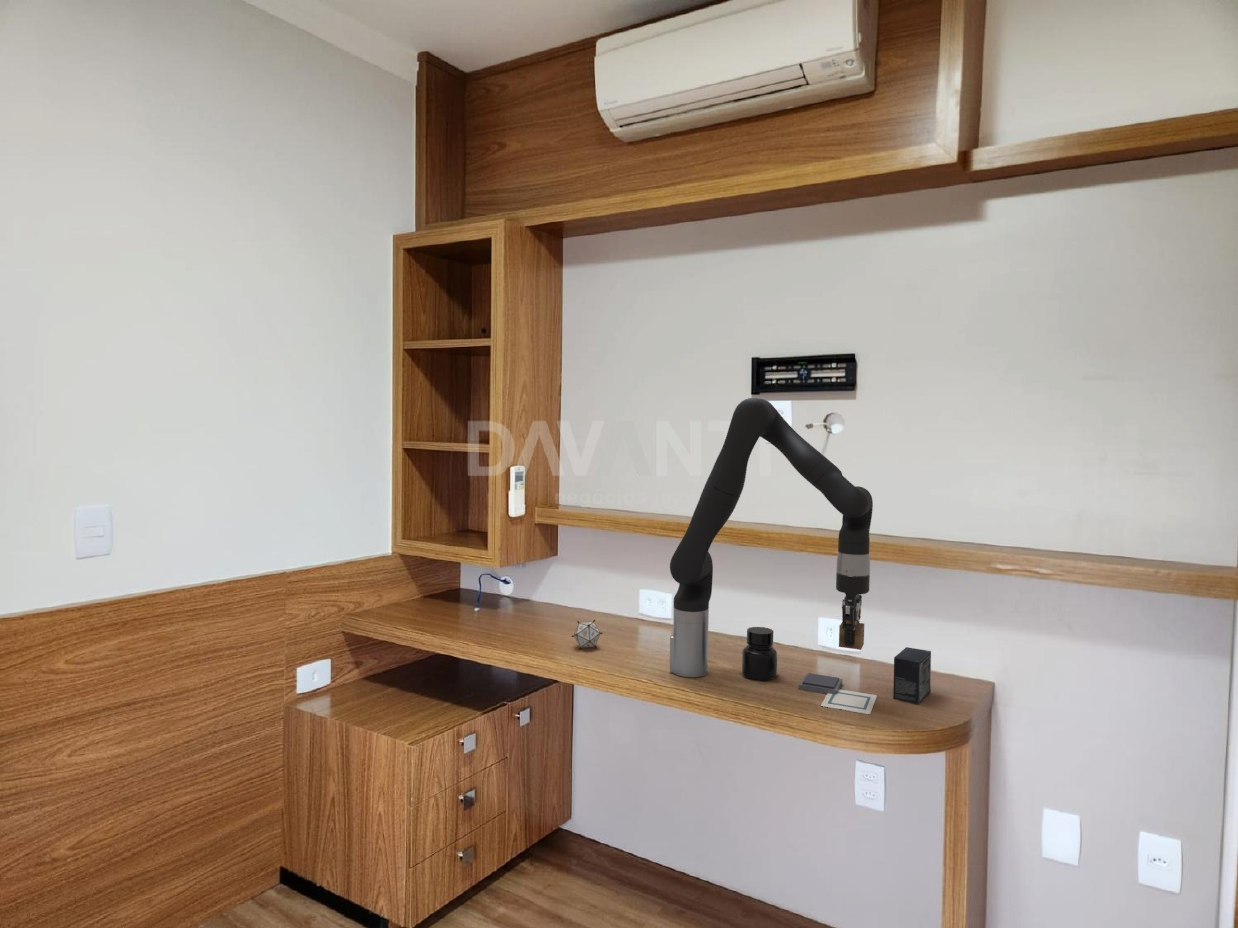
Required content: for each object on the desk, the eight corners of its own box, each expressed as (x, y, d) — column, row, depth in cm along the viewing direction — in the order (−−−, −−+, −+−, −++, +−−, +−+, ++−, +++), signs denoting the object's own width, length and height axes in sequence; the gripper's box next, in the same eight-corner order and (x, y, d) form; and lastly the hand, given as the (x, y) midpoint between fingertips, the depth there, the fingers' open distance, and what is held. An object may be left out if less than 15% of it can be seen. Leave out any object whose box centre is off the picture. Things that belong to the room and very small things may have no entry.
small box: (904, 686, 189) (905, 645, 189) (931, 692, 185) (932, 650, 185) (891, 698, 181) (892, 655, 180) (919, 705, 177) (921, 661, 176)
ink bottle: (784, 675, 196) (785, 630, 196) (766, 684, 190) (767, 637, 189) (752, 667, 203) (753, 623, 202) (734, 675, 196) (735, 630, 195)
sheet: (820, 706, 175) (820, 705, 175) (830, 688, 187) (830, 687, 187) (870, 714, 170) (870, 713, 170) (876, 696, 182) (876, 694, 182)
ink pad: (798, 689, 186) (799, 682, 186) (806, 678, 194) (806, 671, 194) (836, 695, 182) (836, 688, 182) (842, 683, 190) (842, 677, 190)
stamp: (838, 646, 177) (839, 617, 176) (842, 641, 181) (843, 612, 181) (860, 649, 175) (861, 620, 174) (863, 644, 179) (864, 615, 179)
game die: (589, 658, 220) (605, 628, 224) (595, 656, 212) (611, 625, 216) (563, 643, 220) (579, 613, 223) (567, 641, 212) (584, 610, 216)
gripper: (841, 564, 185) (839, 632, 186) (831, 575, 172) (829, 648, 173) (873, 567, 182) (871, 636, 183) (865, 578, 169) (863, 653, 170)
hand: (851, 642), depth 178 cm, fingers closed on stamp, 5 cm apart
